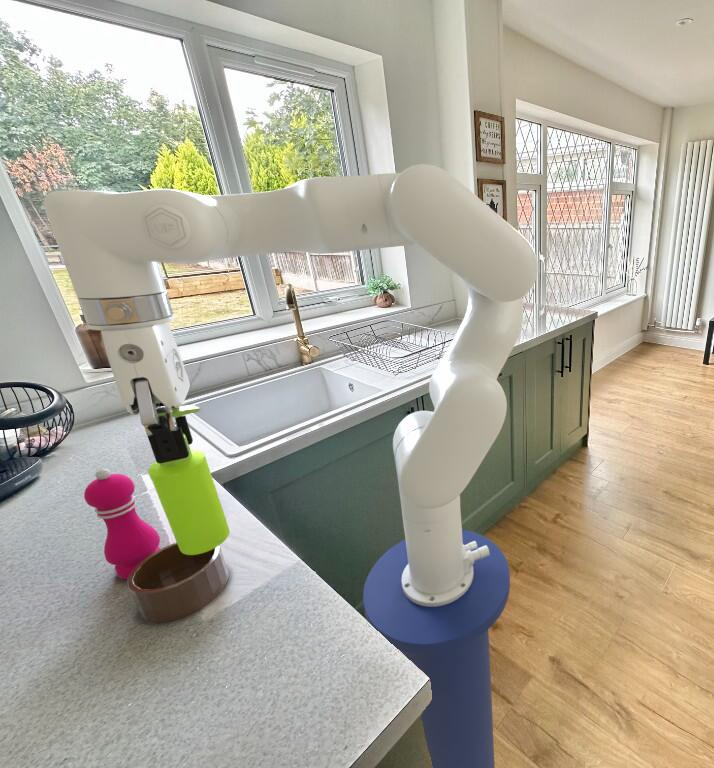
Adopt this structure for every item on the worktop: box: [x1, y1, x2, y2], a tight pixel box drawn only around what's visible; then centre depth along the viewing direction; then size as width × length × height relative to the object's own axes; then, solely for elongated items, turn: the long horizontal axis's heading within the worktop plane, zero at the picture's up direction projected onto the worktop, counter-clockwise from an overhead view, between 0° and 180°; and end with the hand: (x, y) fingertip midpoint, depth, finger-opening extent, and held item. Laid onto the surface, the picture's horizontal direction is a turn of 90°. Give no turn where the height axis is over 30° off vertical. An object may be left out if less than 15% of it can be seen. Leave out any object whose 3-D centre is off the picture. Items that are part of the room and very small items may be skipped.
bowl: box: [126, 541, 230, 624], centre depth 68 cm, size 12×12×6 cm
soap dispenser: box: [148, 404, 231, 555], centre depth 55 cm, size 6×7×20 cm
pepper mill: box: [83, 468, 161, 580], centre depth 70 cm, size 7×7×20 cm
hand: (175, 451), depth 53 cm, fingers closed on soap dispenser, 3 cm apart
